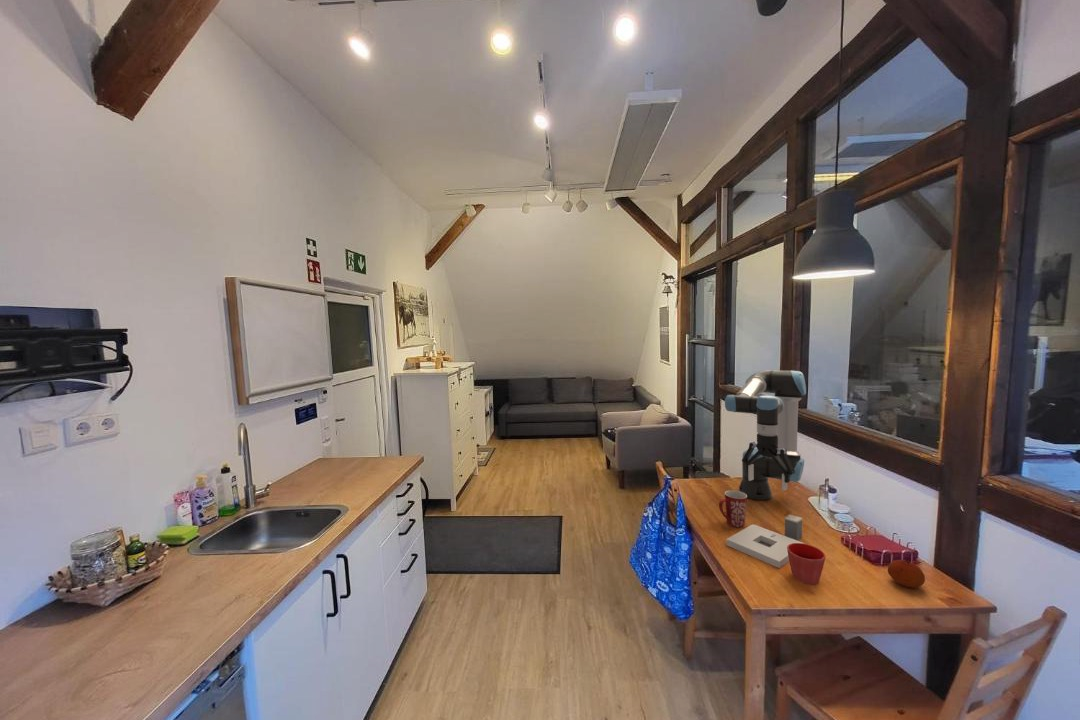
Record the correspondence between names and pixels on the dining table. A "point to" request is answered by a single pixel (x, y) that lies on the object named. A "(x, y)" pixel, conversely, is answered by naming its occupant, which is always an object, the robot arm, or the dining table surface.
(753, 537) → the socket plate
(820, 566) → the flower pot
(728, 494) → the mug
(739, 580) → the dining table surface
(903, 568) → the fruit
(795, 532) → the plug
